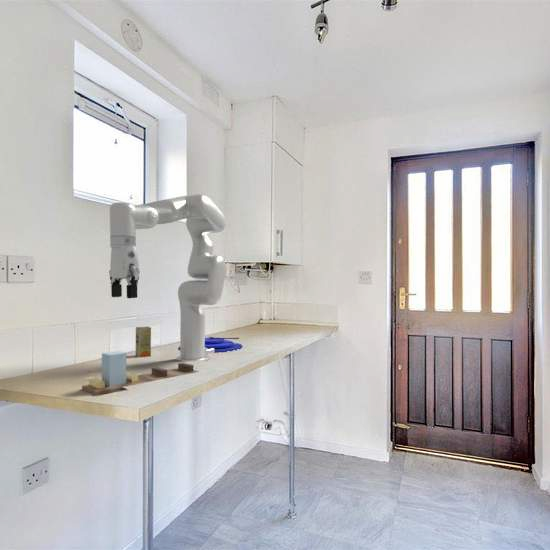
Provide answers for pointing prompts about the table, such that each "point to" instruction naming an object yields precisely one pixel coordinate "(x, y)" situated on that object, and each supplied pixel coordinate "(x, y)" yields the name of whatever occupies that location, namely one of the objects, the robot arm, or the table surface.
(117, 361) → the painted block
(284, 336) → the table surface
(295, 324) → the table surface
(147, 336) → the shoe polish box
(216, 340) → the coiled blue cable
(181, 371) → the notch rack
